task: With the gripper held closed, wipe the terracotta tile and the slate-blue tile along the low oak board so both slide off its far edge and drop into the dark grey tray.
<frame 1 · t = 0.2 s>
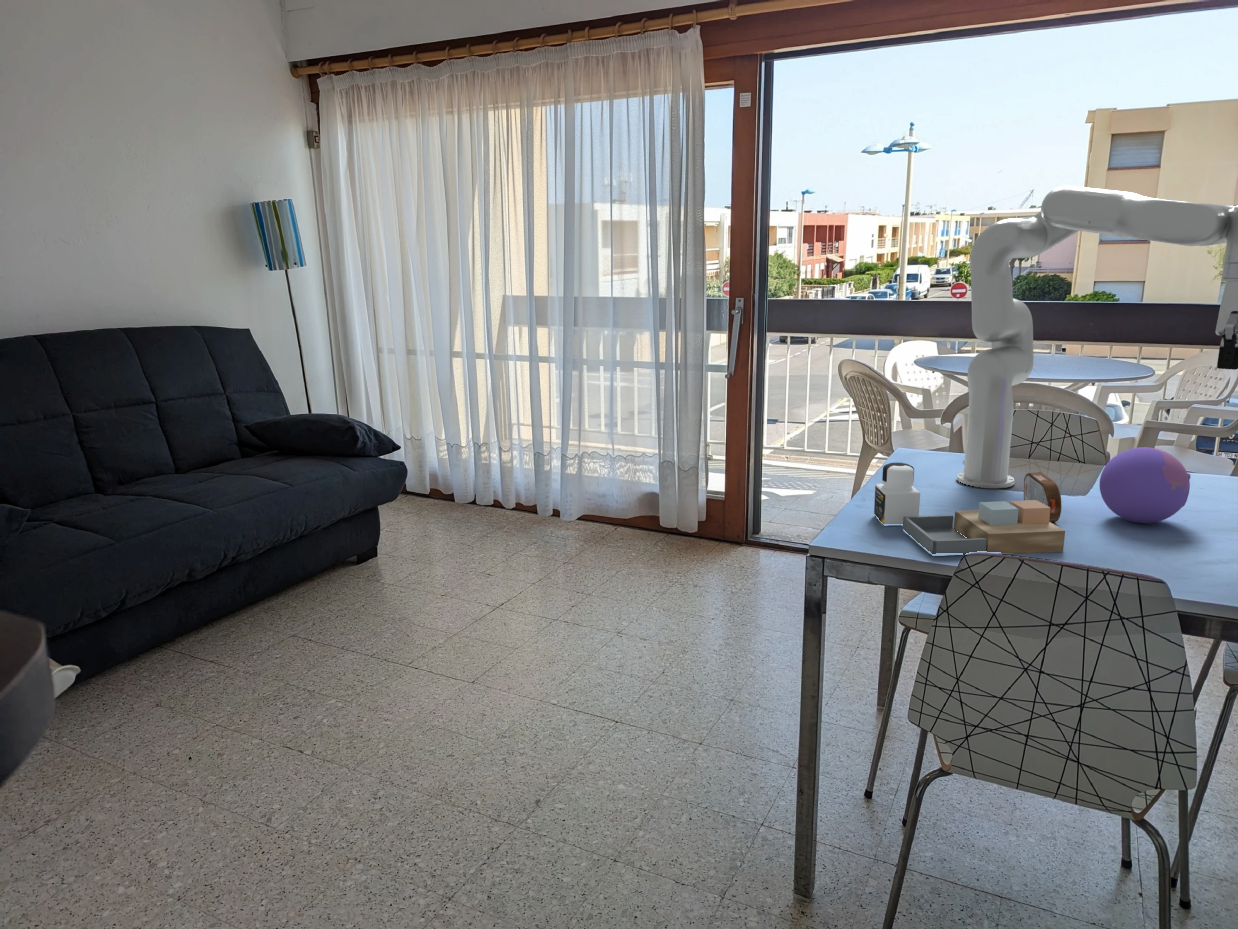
hand: (1233, 366, 153), 31 cm above the table, tool pointing down, fingers open, 9 cm apart
tile slate: (997, 520, 153), point 4 cm above the table, touching board
tile terracotta: (1028, 519, 153), point 4 cm above the table, touching board
board: (1005, 540, 154), on the table
medicine bottle: (895, 522, 168), on the table
decorative ball: (1138, 522, 163), on the table
tray: (942, 542, 154), on the table
tin: (1039, 516, 168), on the table
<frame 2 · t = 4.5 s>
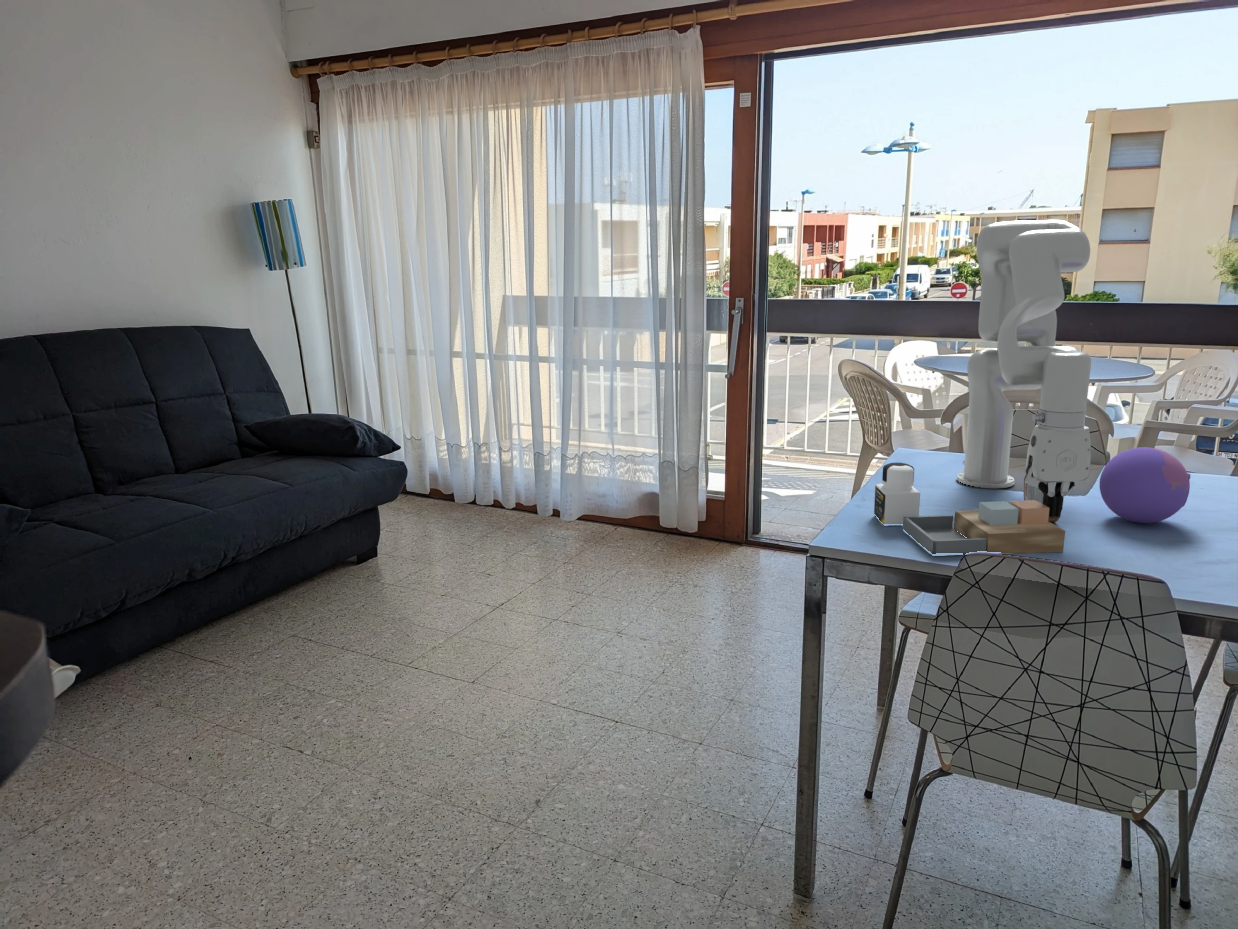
hand: (1051, 514, 153), 5 cm above the table, tool pointing down, fingers closed
tile terracotta: (1027, 519, 153), point 4 cm above the table, touching board, gripper
everything else where it was.
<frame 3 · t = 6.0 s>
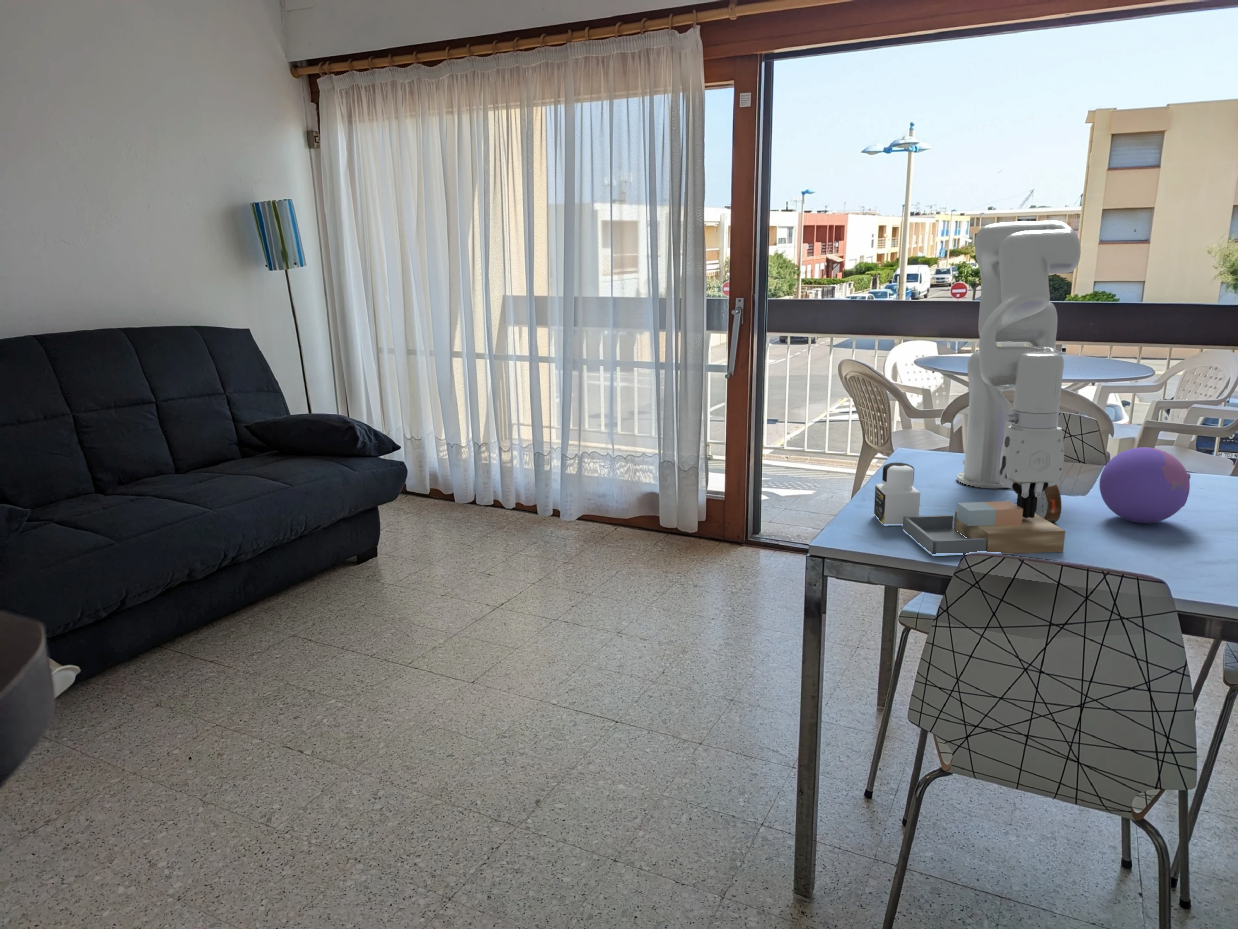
hand: (1025, 515, 153), 5 cm above the table, tool pointing down, fingers closed
tile slate: (975, 521, 153), point 4 cm above the table, touching board, tile terracotta
tile terracotta: (1001, 520, 153), point 4 cm above the table, touching board, gripper, tile slate
everything else where it was.
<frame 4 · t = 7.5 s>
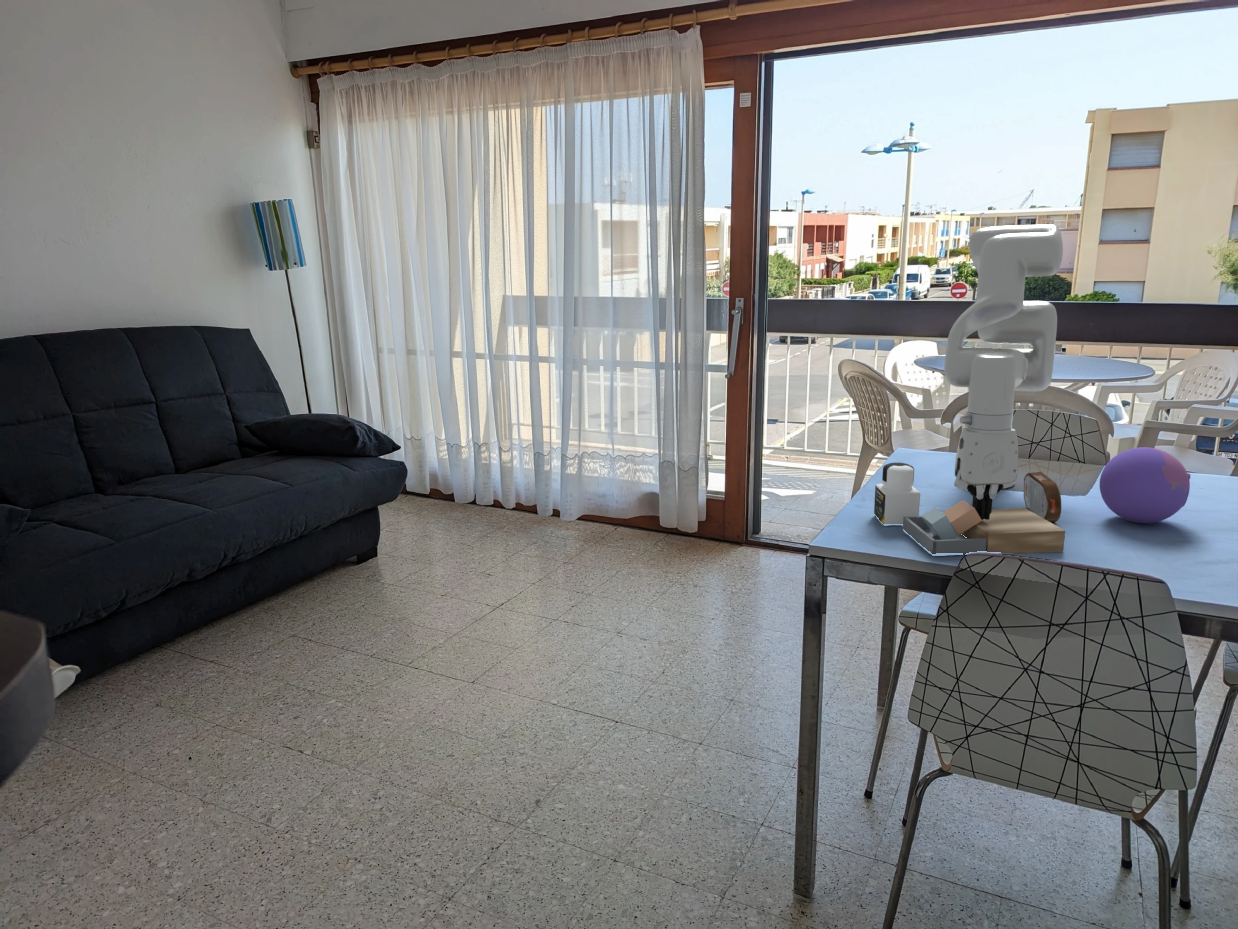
hand: (981, 517, 153), 5 cm above the table, tool pointing down, fingers closed
tile slate: (946, 521, 153), point 4 cm above the table, tilted 122°, touching tile terracotta
tile terracotta: (964, 523, 153), point 4 cm above the table, tilted 32°, touching gripper, tile slate
everything else where it was.
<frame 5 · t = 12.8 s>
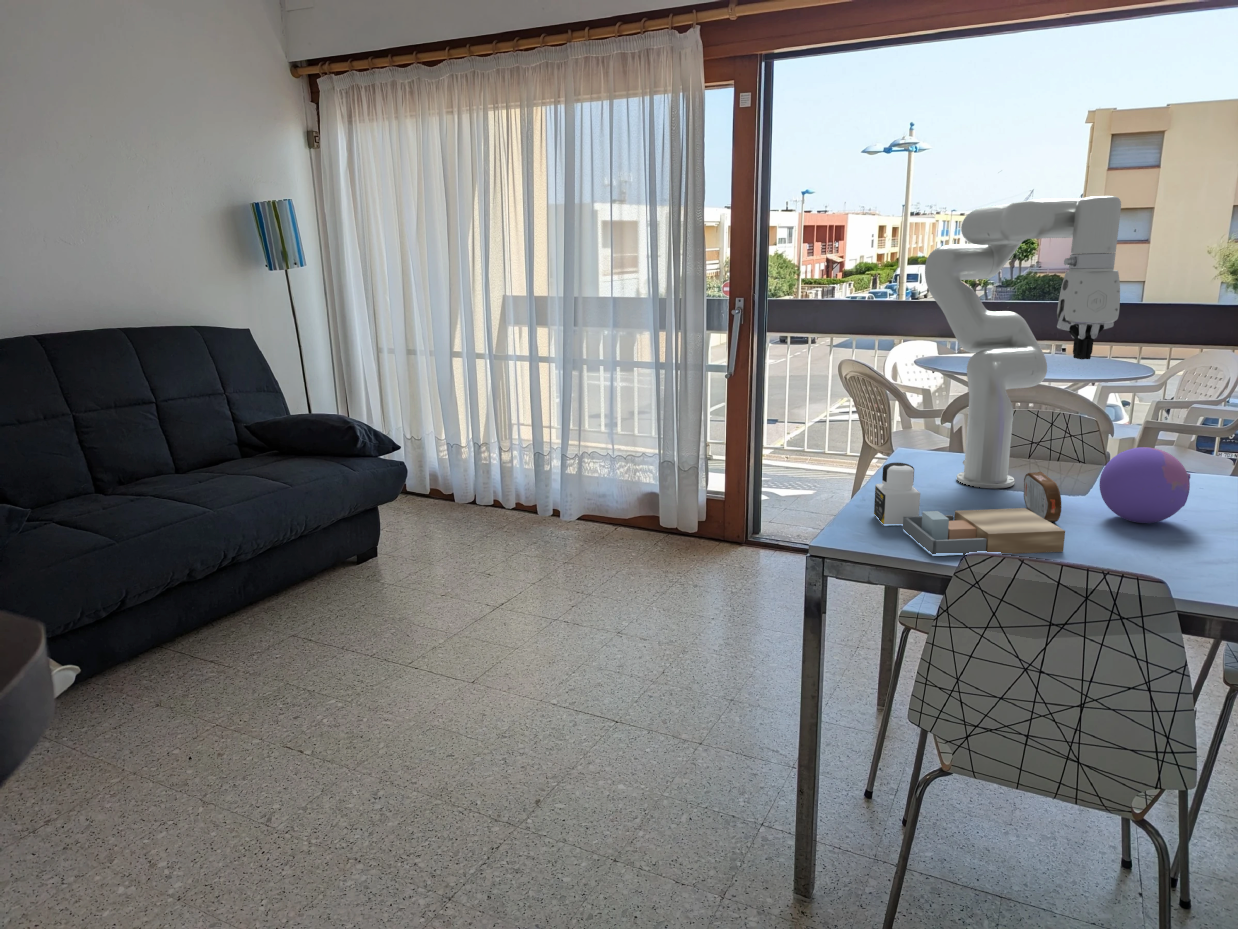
hand: (1081, 358, 162), 32 cm above the table, tool pointing down, fingers closed
tile slate: (942, 527, 153), point 3 cm above the table, tilted 90°, touching tray
tile terracotta: (956, 539, 154), resting on tray
everything else where it was.
at the end: tile terracotta inside the target area (3.9 cm from its centre), point 0.5 cm above the table; tile slate inside the target area (1.2 cm from its centre), point 3.0 cm above the table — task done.
